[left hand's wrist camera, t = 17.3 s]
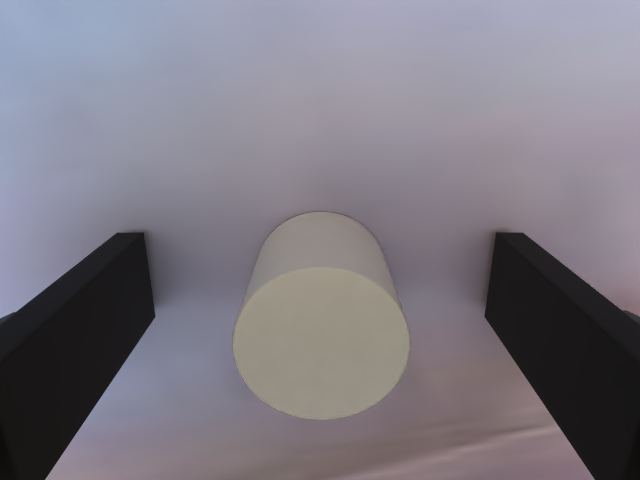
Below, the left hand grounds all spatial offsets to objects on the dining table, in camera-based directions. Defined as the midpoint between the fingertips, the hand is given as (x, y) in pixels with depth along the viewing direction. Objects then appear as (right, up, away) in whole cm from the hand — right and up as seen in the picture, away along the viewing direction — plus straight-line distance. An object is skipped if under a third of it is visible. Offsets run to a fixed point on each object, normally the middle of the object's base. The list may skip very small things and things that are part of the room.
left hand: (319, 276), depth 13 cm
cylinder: (0, 0, 0) cm, 0 cm away
